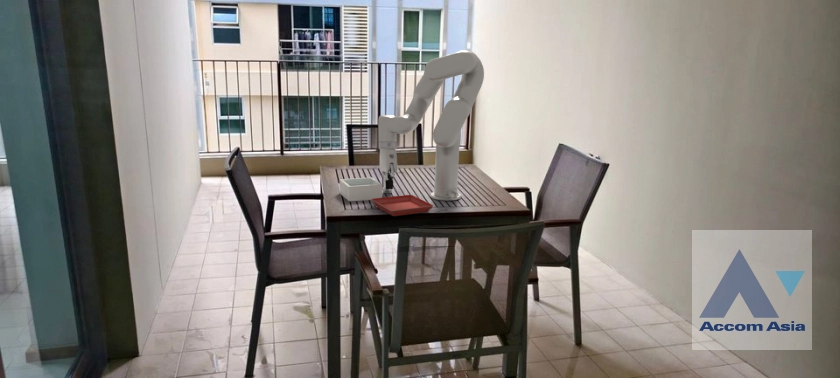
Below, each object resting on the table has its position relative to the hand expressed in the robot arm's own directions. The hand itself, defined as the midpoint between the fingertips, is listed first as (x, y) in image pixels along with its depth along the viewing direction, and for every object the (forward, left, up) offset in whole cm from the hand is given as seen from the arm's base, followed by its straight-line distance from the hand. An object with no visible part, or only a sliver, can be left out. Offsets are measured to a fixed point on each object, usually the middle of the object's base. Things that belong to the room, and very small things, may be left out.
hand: (387, 187), depth 242 cm
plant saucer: (-26, +3, -3) cm, 26 cm away
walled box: (-2, +12, -2) cm, 13 cm away
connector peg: (0, 0, -2) cm, 2 cm away
